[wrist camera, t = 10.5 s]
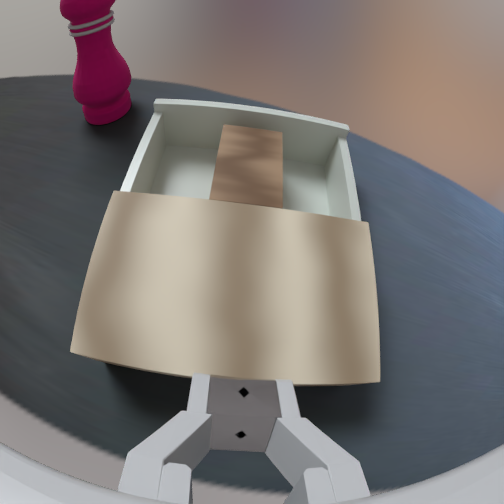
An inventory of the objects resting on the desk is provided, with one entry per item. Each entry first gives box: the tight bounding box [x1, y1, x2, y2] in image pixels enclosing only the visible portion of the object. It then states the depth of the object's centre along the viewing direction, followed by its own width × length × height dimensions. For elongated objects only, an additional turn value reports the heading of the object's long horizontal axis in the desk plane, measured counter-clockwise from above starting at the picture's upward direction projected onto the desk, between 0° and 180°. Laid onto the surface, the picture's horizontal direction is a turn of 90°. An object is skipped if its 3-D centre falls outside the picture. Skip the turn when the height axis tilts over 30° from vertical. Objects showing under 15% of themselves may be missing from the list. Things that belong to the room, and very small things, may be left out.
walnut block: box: [209, 124, 283, 209], centre depth 24 cm, size 5×5×8 cm
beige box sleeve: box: [70, 191, 380, 386], centre depth 19 cm, size 18×11×6 cm, turn 86°
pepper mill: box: [60, 0, 131, 125], centre depth 22 cm, size 7×7×20 cm
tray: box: [120, 99, 361, 221], centre depth 24 cm, size 18×11×6 cm, turn 86°
